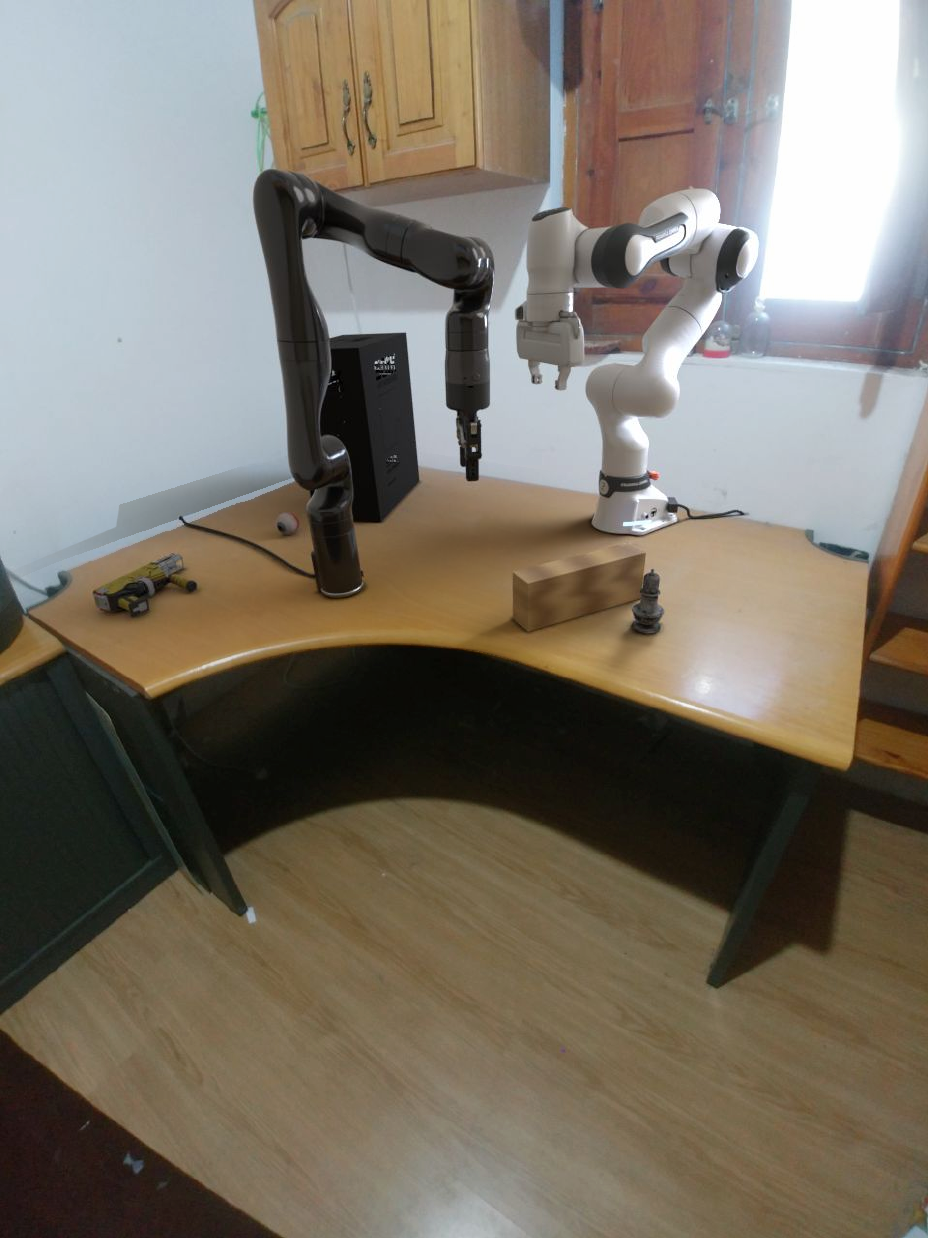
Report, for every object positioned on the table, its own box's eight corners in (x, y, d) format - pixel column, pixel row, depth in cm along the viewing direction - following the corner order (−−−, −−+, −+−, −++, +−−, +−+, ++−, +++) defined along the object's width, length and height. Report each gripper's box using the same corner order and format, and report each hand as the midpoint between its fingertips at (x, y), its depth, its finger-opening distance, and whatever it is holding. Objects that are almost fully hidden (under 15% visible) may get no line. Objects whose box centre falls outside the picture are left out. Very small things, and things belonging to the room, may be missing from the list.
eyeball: (273, 537, 164) (268, 516, 161) (287, 528, 169) (282, 508, 166) (291, 539, 161) (286, 518, 158) (305, 530, 166) (301, 510, 163)
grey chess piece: (663, 635, 111) (671, 576, 105) (630, 633, 112) (636, 575, 106) (661, 619, 116) (668, 562, 110) (629, 617, 117) (635, 561, 111)
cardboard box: (380, 521, 169) (358, 347, 147) (314, 519, 174) (283, 350, 151) (419, 480, 201) (406, 332, 178) (362, 479, 205) (342, 334, 183)
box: (623, 587, 128) (627, 542, 123) (641, 598, 124) (646, 552, 119) (512, 618, 119) (512, 571, 114) (527, 631, 115) (527, 583, 110)
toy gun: (221, 561, 143) (169, 550, 147) (142, 604, 123) (85, 590, 127) (223, 579, 146) (173, 568, 149) (147, 624, 125) (91, 610, 129)
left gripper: (441, 372, 106) (444, 463, 115) (449, 386, 94) (452, 487, 102) (483, 370, 107) (483, 460, 115) (497, 384, 95) (496, 484, 103)
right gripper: (594, 310, 108) (590, 391, 115) (537, 307, 124) (537, 379, 131) (564, 313, 106) (562, 395, 113) (510, 309, 122) (511, 382, 129)
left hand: (469, 473), depth 109 cm, fingers open, 8 cm apart
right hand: (548, 386), depth 122 cm, fingers open, 8 cm apart
